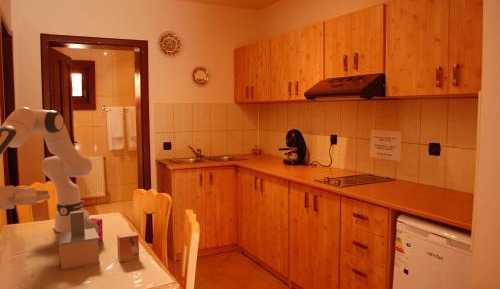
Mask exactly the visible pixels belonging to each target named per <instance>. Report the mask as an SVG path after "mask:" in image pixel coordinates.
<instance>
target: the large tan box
mask: <svg viewBox="0 0 500 289" xmlns="http://www.w3.org/2000/svg"><path fill="white" fill-rule="evenodd" d="M99 246H100V244H98V240H93V241H86V242H80V243H74V244H67V245H61V246H60V245H59V260H60V267H61V270H62V271H63V270H69V269H75V268H79V267H85V266H92V265H97V264H100V248H99Z"/></svg>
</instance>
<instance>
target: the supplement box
mask: <svg viewBox="0 0 500 289" xmlns="http://www.w3.org/2000/svg"><path fill="white" fill-rule="evenodd" d="M92 228H95V230H96V232H97V234H98V236H99V240H98V245H100V244H101V243H103V239H104V236H103V232H104V231H103V219H102V218H94V217H93V218H92V217H91V218H89V220H87V221H85V229H92Z"/></svg>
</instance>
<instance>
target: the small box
mask: <svg viewBox="0 0 500 289" xmlns="http://www.w3.org/2000/svg"><path fill="white" fill-rule="evenodd" d="M116 240H117V259H118V260H119V262H120V263H123V262H128V261H133V260H134V261H135V260H139V259H140V244H139V243H140V242H139V240H140V239H139V234H138V233H137V231H132V232H126V233H118V234H117V235H116Z"/></svg>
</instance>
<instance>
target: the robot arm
mask: <svg viewBox="0 0 500 289" xmlns="http://www.w3.org/2000/svg"><path fill="white" fill-rule="evenodd" d="M31 134H42V136H43V139H44V141H45V144H46V147H47V150H48V152H50V154H52V155H53V156H48V157H45V158H44V159H43V160H42V162H41V165H40V168H41V171H42V174H43V175H44V176H46V177H47V178H48V179H49V180H50V181H51V182H52V184H53V185H54V189H55V192H56V200H57V203H56V212H55V214H54V225H53V226H52V230H54V231H55V232H56V233H64V232H71V220H70V212H75V211H83V212H84V229H85V221H87V220H89V219H90V213H89V211H88V210H86V209H85V208H84V207H83V205H84V204H85V200H81V192H80V191H81V189H80V186H78V184H76V183H74V182H73V181H72V180H71V179H70V178H80V177H85V176H89V174H90V173H92V169H93V162H92V160H91V159H90V158H89V157H88V156H85V155H84V154H82V153H81V152H79V150H78V149H77V148H76V147H75V146H74V145H73V143H72V140H71V138H70V135H69V132H68V129H67V126H66V124H65V119H64V117H63V115H62V114H61V113H60V112H59V111H57V110H54V109H51V110H49V109H48V110H47V109H31V108H30V107H27V106H20V107H17V108H16V109H15V110H14V111H13V112H11V113H10V114H9V116H7V117H6V119H5V120H4V122H3V123H2V124H1V126H0V157H2V155H3V154H4V153H5V151H6V150H7V148H8V147H9V148H21V147H22V146H23V145H24V144H25V143H26V142H27V140H29V138H30V136H31ZM50 198H51V195H50V194H49V190H39V189H38V190H36V188H35V187H26V186H25V187H24V186H23V187H21V186H19V187H18V186H17V187H16V186H14V185H0V210H11V209H15V206H29V205H32V206H33V205H36V204H38V202H41V201H44V200H50Z"/></svg>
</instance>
